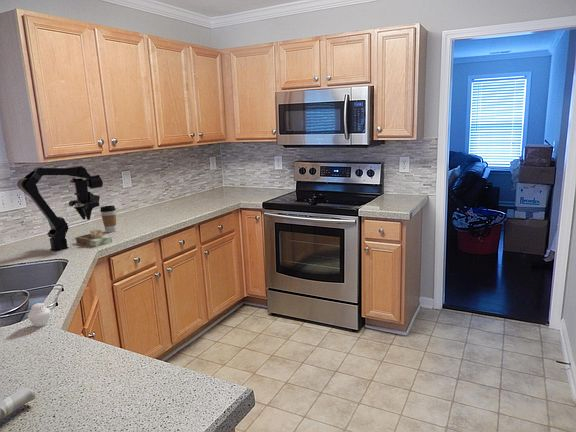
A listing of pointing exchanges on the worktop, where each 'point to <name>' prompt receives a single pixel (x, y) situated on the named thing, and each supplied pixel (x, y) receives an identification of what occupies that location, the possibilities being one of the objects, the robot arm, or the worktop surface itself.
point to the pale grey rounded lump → (39, 314)
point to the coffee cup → (109, 218)
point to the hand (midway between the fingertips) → (86, 219)
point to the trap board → (93, 240)
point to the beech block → (96, 233)
